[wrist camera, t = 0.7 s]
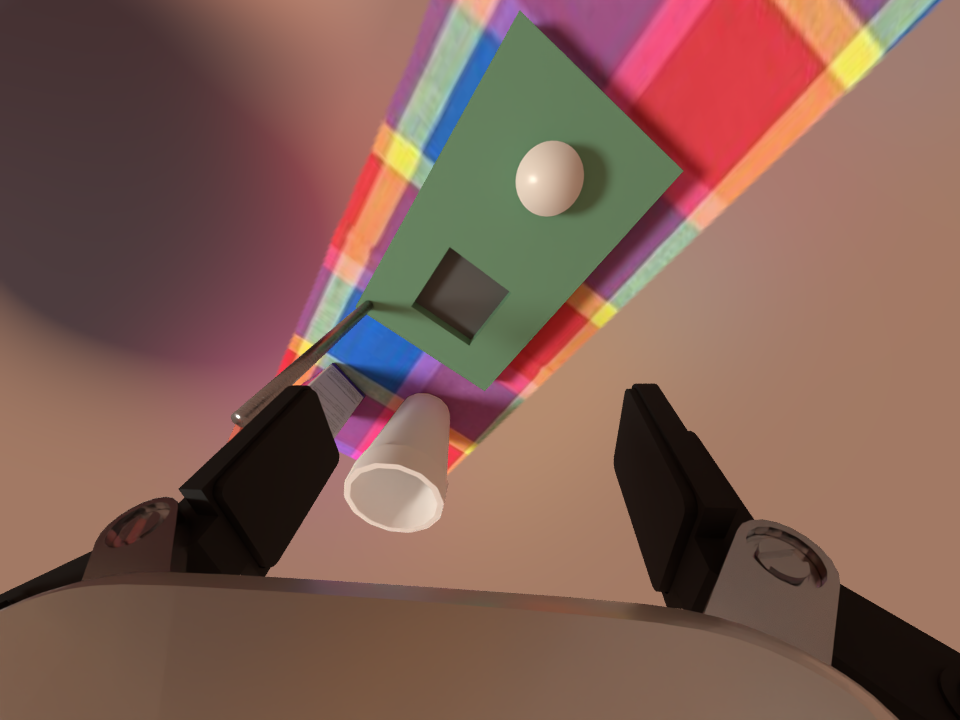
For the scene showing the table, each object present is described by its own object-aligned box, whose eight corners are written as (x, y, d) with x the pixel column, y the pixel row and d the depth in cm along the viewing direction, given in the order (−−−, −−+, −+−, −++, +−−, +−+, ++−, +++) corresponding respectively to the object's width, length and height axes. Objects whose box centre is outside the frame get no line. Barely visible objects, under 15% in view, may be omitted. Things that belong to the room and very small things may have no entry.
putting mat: (519, 25, 25) (534, -375, 7) (670, 171, 28) (945, 164, 10) (353, 319, 37) (204, 454, 19) (471, 395, 41) (438, 568, 23)
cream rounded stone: (543, 127, 25) (545, 123, 24) (592, 171, 26) (598, 171, 25) (503, 188, 28) (502, 189, 26) (550, 226, 29) (552, 229, 27)
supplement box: (332, 359, 40) (272, 421, 30) (367, 395, 42) (321, 464, 32) (301, 381, 42) (234, 446, 32) (335, 414, 44) (283, 484, 34)
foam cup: (477, 421, 43) (463, 511, 31) (424, 452, 46) (395, 543, 35) (426, 368, 39) (391, 447, 28) (373, 405, 43) (323, 489, 31)
